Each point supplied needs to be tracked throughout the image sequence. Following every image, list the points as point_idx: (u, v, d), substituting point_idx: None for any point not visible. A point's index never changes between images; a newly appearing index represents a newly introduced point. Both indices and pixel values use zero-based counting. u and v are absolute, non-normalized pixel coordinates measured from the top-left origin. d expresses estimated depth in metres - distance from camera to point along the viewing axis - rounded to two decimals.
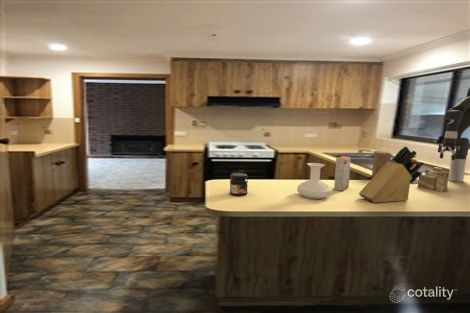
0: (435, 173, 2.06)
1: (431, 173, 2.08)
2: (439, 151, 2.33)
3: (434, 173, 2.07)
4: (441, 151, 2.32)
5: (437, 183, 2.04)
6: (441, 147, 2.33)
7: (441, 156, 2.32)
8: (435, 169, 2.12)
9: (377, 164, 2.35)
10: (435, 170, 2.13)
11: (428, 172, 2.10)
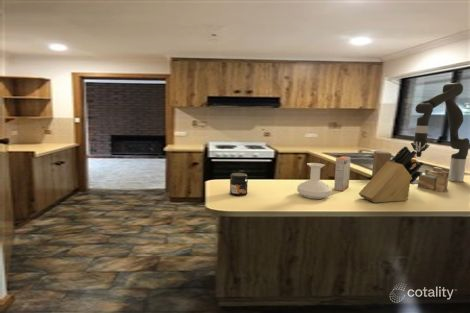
0: (435, 173, 2.06)
1: (431, 173, 2.08)
2: (415, 149, 2.18)
3: (434, 173, 2.07)
4: (417, 149, 2.17)
5: (437, 183, 2.04)
6: (414, 145, 2.20)
7: (417, 154, 2.17)
8: (435, 169, 2.12)
9: (377, 164, 2.35)
10: (435, 170, 2.13)
11: (428, 172, 2.10)
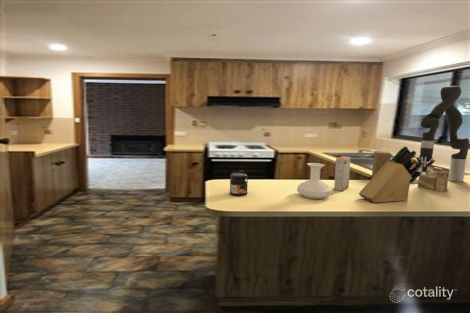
0: (435, 173, 2.06)
1: (431, 173, 2.08)
2: None
3: (434, 173, 2.06)
4: (423, 164, 2.13)
5: (437, 183, 2.04)
6: None
7: (423, 169, 2.14)
8: (435, 169, 2.12)
9: (377, 164, 2.35)
10: (435, 170, 2.13)
11: (428, 172, 2.10)
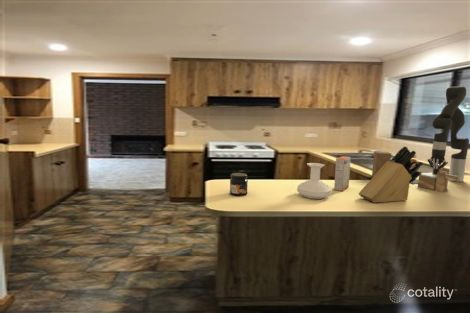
0: (448, 176, 1.98)
1: None
2: (432, 166, 2.07)
3: (447, 176, 1.99)
4: (435, 166, 2.06)
5: (437, 183, 2.04)
6: (431, 161, 2.09)
7: (435, 172, 2.06)
8: None
9: (377, 164, 2.35)
10: None
11: None
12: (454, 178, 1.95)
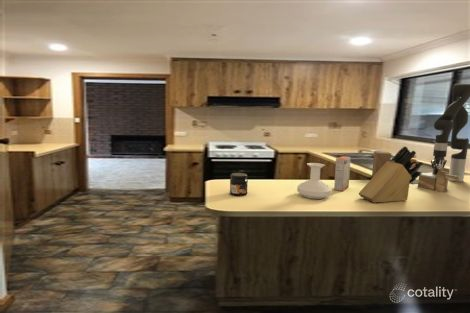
0: (448, 176, 1.98)
1: None
2: (439, 166, 2.14)
3: (447, 176, 1.99)
4: None
5: (437, 183, 2.04)
6: (443, 162, 2.13)
7: None
8: None
9: (377, 164, 2.35)
10: None
11: None
12: (454, 178, 1.95)
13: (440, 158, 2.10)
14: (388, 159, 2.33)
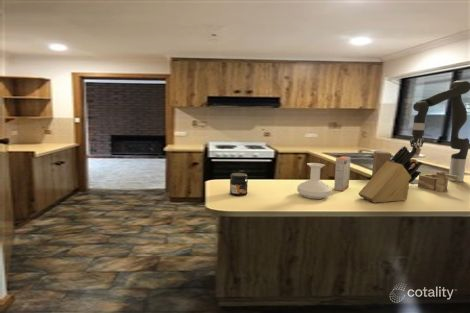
0: (447, 175, 1.99)
1: None
2: None
3: (446, 175, 1.99)
4: (416, 145, 2.29)
5: (437, 183, 2.04)
6: (421, 141, 2.28)
7: None
8: None
9: (377, 164, 2.35)
10: None
11: None
12: (453, 178, 1.95)
13: (418, 137, 2.25)
14: (388, 159, 2.33)
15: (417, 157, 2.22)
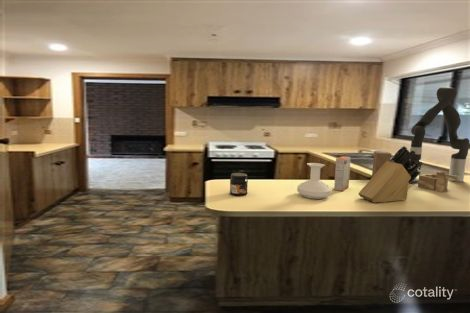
0: (447, 175, 1.99)
1: None
2: None
3: (446, 175, 1.99)
4: None
5: (437, 183, 2.04)
6: None
7: None
8: None
9: (377, 164, 2.35)
10: None
11: None
12: (453, 178, 1.95)
13: (415, 161, 2.27)
14: (388, 159, 2.33)
15: None
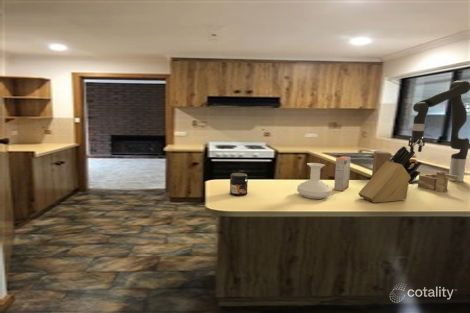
0: (447, 175, 1.99)
1: None
2: None
3: (446, 175, 1.99)
4: None
5: (437, 183, 2.04)
6: (422, 141, 2.28)
7: (418, 149, 2.30)
8: None
9: (377, 164, 2.35)
10: None
11: None
12: (453, 178, 1.95)
13: (418, 138, 2.25)
14: (388, 159, 2.33)
15: None
